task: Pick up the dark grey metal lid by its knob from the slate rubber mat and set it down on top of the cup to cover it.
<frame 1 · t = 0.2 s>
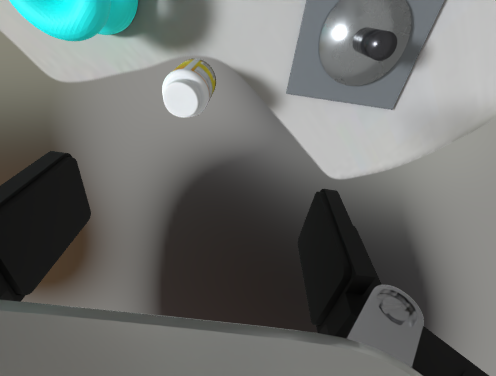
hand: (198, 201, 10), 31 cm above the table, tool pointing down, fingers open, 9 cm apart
lid: (361, 39, 33), point 1 cm above the table, touching mat
mat: (360, 39, 33), on the table
supplement bottle: (197, 78, 37), on the table
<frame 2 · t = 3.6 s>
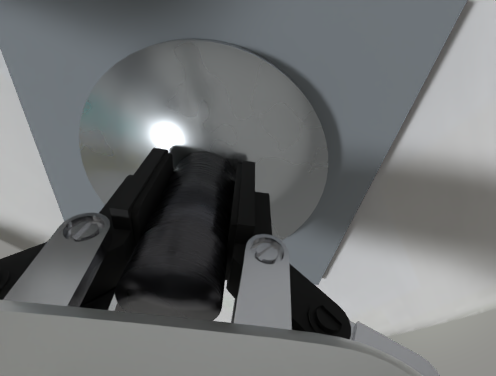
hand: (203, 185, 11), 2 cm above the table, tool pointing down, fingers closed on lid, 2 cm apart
lid: (208, 169, 12), point 1 cm above the table, touching gripper, mat
mat: (210, 163, 13), on the table
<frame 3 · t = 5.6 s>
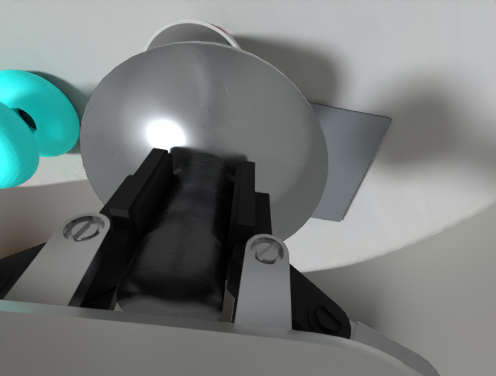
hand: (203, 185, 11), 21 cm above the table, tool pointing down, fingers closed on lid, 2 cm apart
lid: (208, 171, 12), point 19 cm above the table, touching gripper
donuts: (42, 112, 31), on the table
mat: (303, 165, 34), on the table
cup: (213, 64, 27), on the table
when the fingers open (13 cm above the table, at t = 7.6 s): lid drops 1 cm, resting on cup.
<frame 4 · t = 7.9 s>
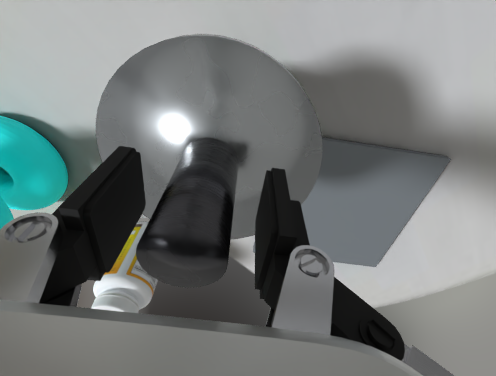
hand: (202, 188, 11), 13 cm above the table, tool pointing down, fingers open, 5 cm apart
lid: (212, 155, 13), point 10 cm above the table, touching cup
donuts: (23, 157, 26), on the table
mat: (336, 209, 28), on the table
supplement bottle: (150, 234, 32), on the table
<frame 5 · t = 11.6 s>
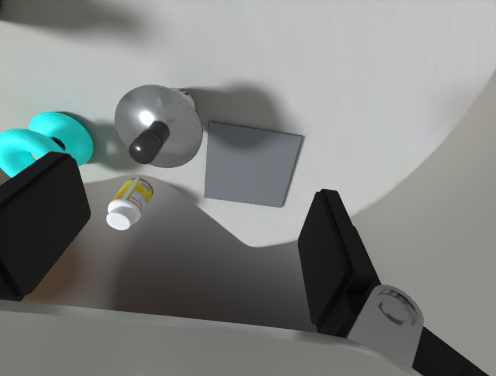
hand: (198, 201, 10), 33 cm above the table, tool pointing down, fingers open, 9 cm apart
lid: (160, 128, 33), point 10 cm above the table, touching cup
donuts: (68, 136, 46), on the table
mat: (249, 168, 48), on the table
supplement bottle: (140, 186, 51), on the table
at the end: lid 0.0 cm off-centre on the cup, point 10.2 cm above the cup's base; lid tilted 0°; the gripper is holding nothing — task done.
